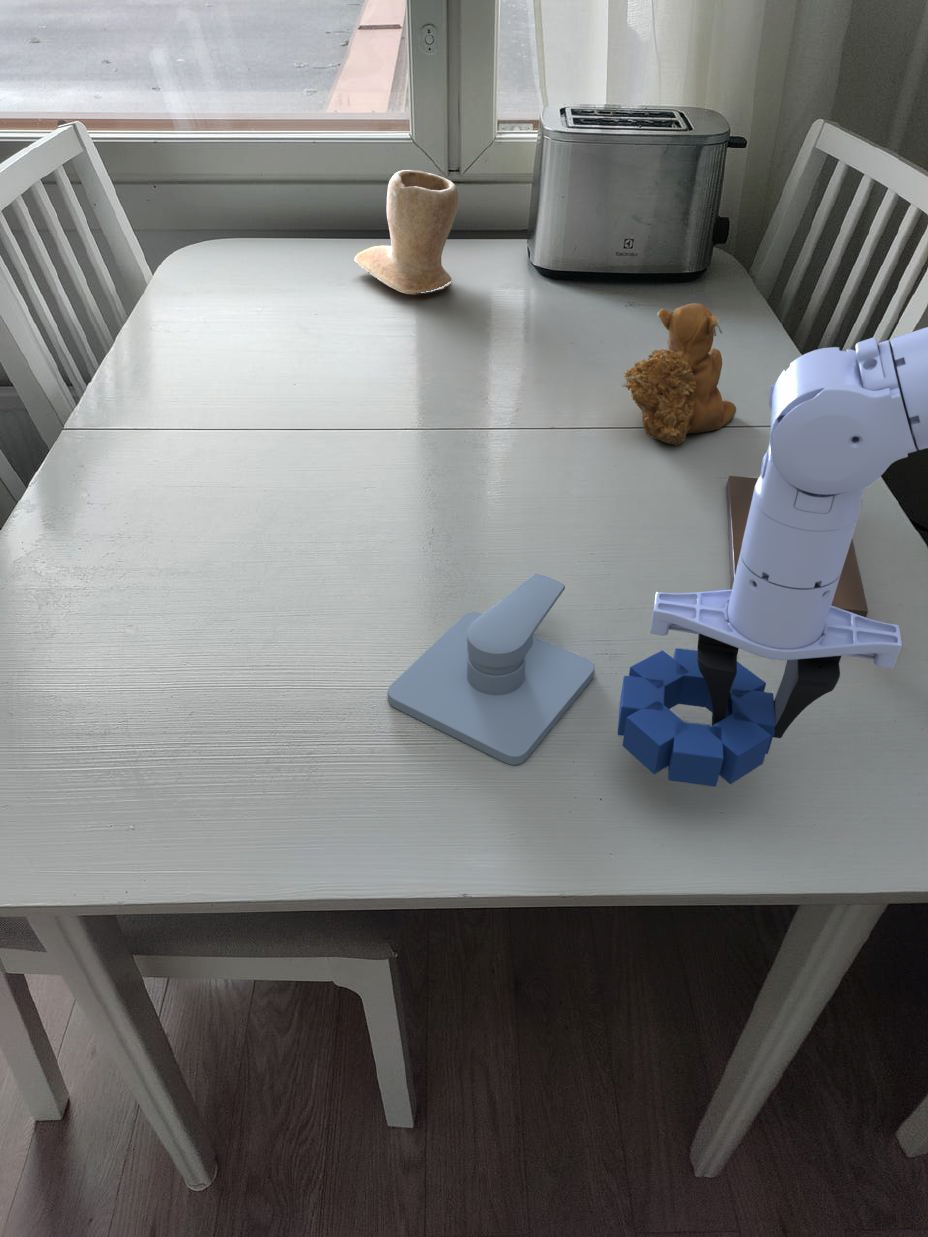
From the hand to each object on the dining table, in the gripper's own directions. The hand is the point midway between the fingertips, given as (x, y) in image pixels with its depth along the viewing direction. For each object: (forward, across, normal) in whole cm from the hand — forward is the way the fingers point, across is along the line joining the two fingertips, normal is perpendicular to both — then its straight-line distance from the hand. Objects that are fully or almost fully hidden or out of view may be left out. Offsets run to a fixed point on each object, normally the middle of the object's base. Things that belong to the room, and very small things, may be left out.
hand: (747, 722), depth 64 cm
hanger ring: (+1, +3, 0) cm, 4 cm away
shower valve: (+6, +18, -7) cm, 21 cm away
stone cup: (+6, +48, -87) cm, 100 cm away
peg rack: (+6, -5, -30) cm, 31 cm away
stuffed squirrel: (+6, +7, -52) cm, 53 cm away
